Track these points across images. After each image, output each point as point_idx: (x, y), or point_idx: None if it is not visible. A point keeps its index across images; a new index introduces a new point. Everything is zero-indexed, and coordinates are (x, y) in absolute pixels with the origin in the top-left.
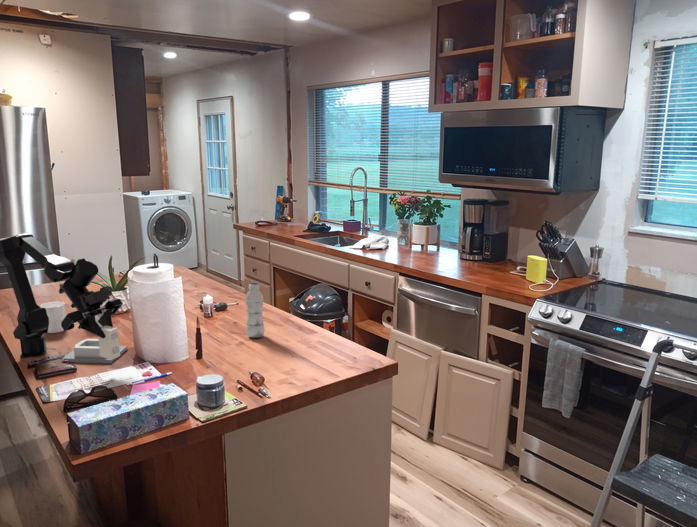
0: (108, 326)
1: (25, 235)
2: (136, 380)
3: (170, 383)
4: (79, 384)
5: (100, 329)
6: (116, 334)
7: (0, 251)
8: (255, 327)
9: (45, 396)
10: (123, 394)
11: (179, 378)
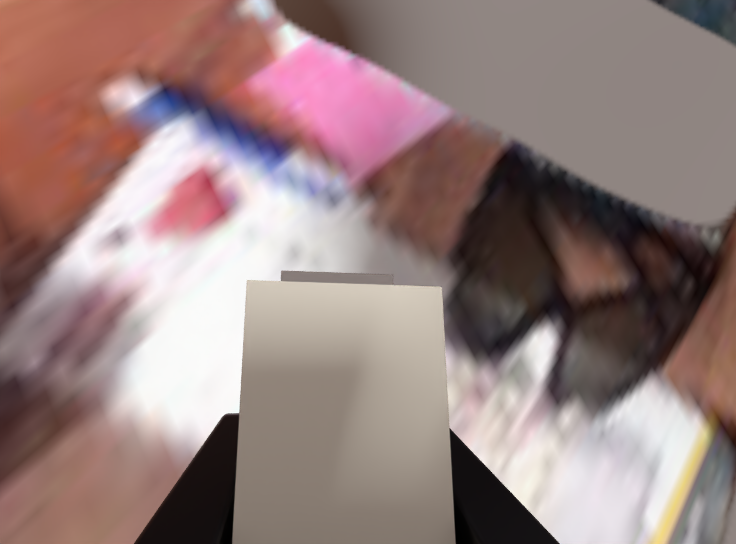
0: (260, 537)
1: None
2: (305, 201)
3: (253, 13)
4: (512, 479)
5: (489, 507)
6: (313, 279)
7: None
8: None
9: (706, 515)
10: (468, 146)
11: (175, 4)
